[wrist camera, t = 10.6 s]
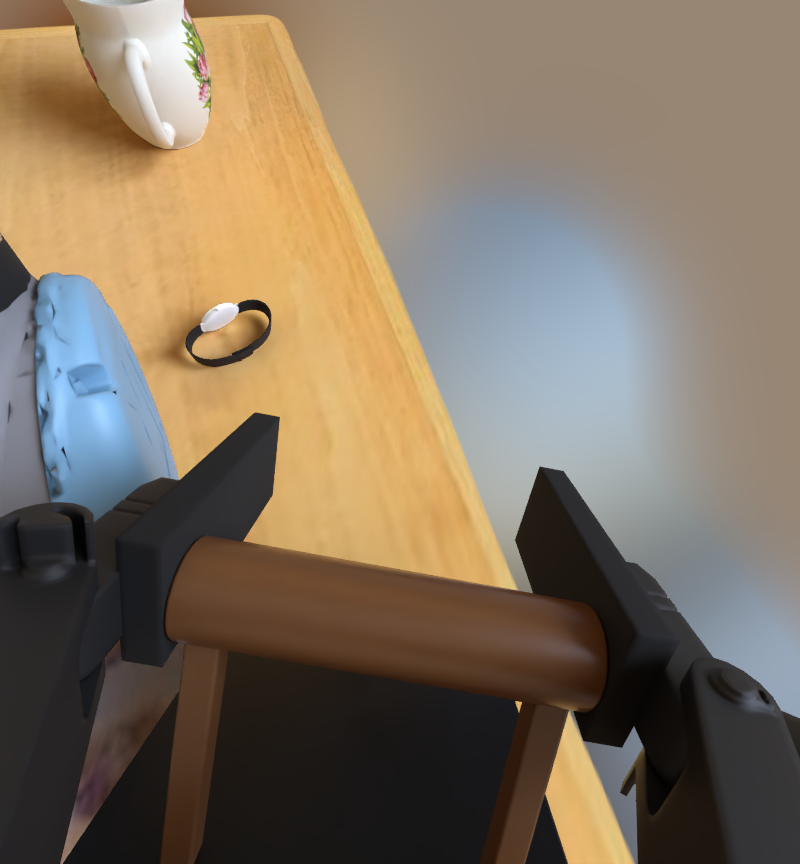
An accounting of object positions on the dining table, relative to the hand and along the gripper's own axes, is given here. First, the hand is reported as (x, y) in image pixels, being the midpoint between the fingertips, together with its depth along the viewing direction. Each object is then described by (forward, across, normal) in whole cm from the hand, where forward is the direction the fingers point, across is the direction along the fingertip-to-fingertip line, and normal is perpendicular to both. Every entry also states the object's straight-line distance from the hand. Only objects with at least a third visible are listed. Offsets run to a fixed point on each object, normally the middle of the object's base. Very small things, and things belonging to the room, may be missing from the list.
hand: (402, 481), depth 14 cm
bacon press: (-2, 0, -8) cm, 9 cm away
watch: (+27, -16, -3) cm, 31 cm away
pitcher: (+44, -30, +14) cm, 56 cm away
